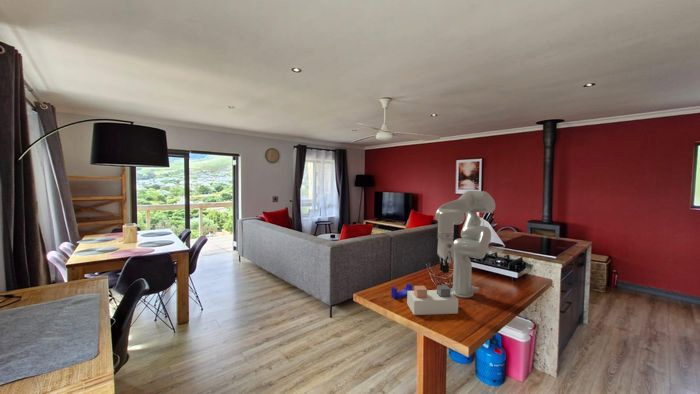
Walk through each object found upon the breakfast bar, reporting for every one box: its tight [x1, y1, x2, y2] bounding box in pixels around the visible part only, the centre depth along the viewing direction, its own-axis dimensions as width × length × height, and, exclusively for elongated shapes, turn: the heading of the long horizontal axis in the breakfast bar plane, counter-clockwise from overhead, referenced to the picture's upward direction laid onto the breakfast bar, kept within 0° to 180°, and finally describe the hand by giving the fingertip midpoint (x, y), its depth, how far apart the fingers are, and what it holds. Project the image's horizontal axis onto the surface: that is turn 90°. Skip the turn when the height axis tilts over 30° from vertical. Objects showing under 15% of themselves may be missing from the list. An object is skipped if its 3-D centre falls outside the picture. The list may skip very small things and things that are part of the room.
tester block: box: [406, 289, 459, 316], centre depth 145 cm, size 22×12×7 cm, turn 95°
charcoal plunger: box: [436, 284, 451, 297], centre depth 145 cm, size 5×5×6 cm
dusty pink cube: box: [413, 285, 428, 298], centre depth 144 cm, size 5×5×6 cm
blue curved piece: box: [390, 282, 413, 300], centre depth 160 cm, size 12×4×6 cm, turn 117°
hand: (444, 271), depth 144 cm, fingers closed
